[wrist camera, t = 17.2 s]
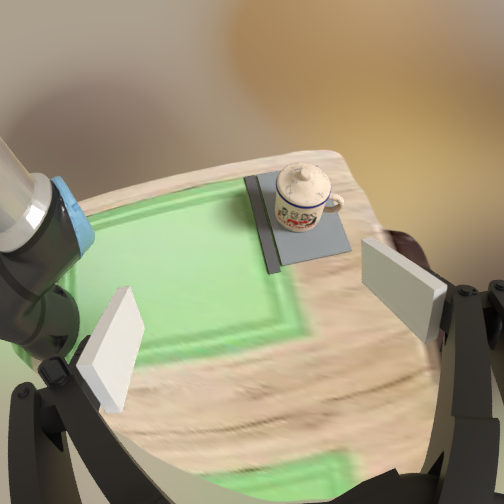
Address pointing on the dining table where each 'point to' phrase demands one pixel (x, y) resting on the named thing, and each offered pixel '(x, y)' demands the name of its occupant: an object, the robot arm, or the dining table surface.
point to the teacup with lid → (303, 197)
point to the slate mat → (303, 243)
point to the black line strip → (262, 226)
